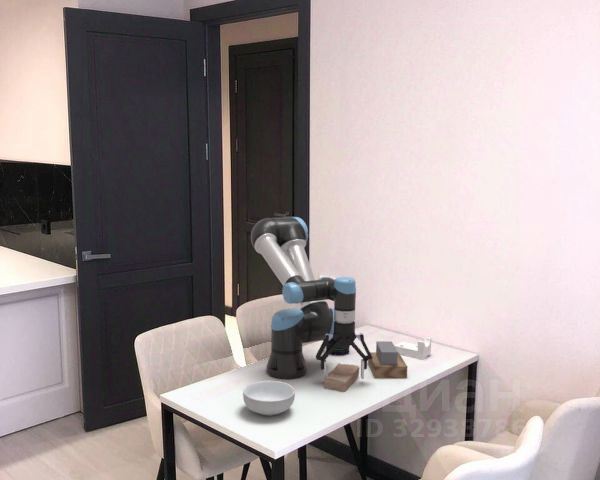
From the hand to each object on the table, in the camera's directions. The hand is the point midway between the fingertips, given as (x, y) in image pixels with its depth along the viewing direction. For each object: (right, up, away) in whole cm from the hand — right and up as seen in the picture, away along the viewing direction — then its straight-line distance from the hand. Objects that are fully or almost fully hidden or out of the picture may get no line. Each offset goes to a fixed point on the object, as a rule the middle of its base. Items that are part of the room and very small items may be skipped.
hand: (343, 378), depth 237 cm
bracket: (+30, +2, +33) cm, 45 cm away
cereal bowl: (-26, -6, -24) cm, 36 cm away
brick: (-1, -2, +1) cm, 3 cm away
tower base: (+17, -1, +14) cm, 22 cm away
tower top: (+17, +4, +13) cm, 22 cm away
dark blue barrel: (0, +3, +34) cm, 34 cm away
